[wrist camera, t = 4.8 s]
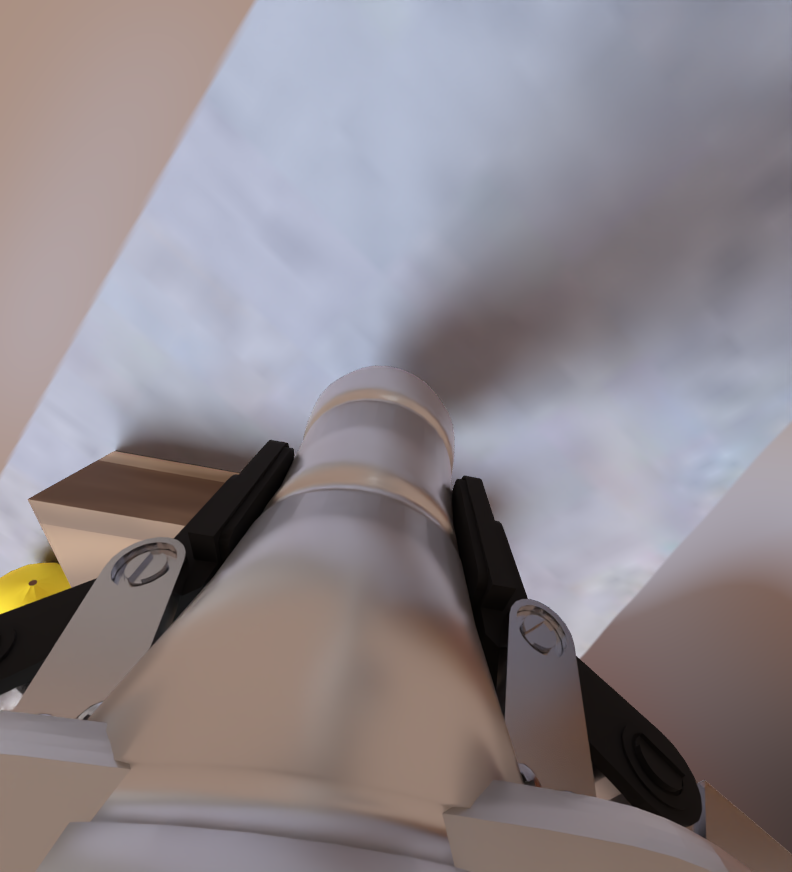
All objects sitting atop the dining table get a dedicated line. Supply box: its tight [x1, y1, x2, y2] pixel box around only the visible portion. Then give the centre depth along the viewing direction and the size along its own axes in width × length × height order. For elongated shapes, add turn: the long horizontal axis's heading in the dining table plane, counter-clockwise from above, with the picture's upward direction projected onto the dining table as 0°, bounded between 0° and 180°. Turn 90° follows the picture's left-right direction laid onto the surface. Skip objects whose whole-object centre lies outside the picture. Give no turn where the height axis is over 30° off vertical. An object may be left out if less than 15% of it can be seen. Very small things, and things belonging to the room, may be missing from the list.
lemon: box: [0, 563, 71, 614], centre depth 24 cm, size 7×5×5 cm
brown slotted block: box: [28, 451, 240, 588], centre depth 22 cm, size 13×24×5 cm, turn 80°
